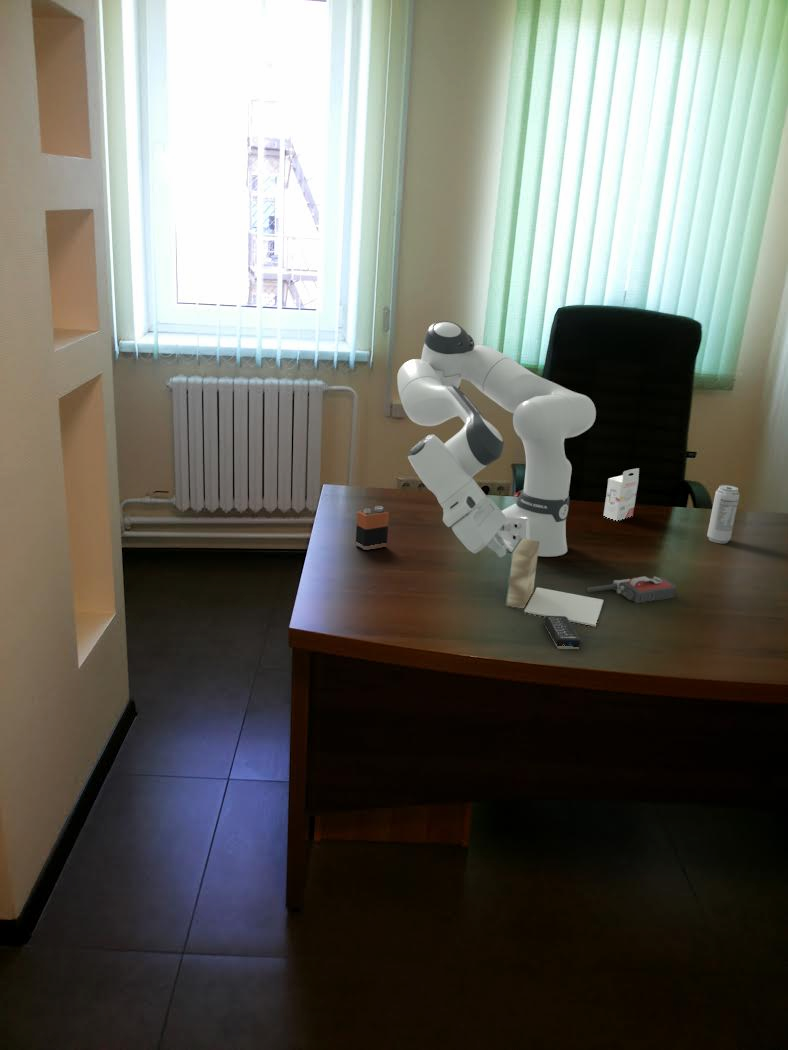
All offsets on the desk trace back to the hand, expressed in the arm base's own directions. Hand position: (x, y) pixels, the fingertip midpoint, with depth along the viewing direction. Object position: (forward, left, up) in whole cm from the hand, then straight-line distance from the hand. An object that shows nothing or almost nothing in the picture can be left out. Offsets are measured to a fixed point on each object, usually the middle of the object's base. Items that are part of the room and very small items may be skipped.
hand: (505, 553), depth 176 cm
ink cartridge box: (-15, +75, -10) cm, 77 cm away
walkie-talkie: (+18, +25, -10) cm, 32 cm away
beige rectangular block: (+4, +2, -10) cm, 10 cm away
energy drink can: (+13, +80, -10) cm, 82 cm away
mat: (+12, +6, -10) cm, 17 cm away
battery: (-38, -2, -10) cm, 40 cm away
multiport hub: (+20, -6, -10) cm, 23 cm away
